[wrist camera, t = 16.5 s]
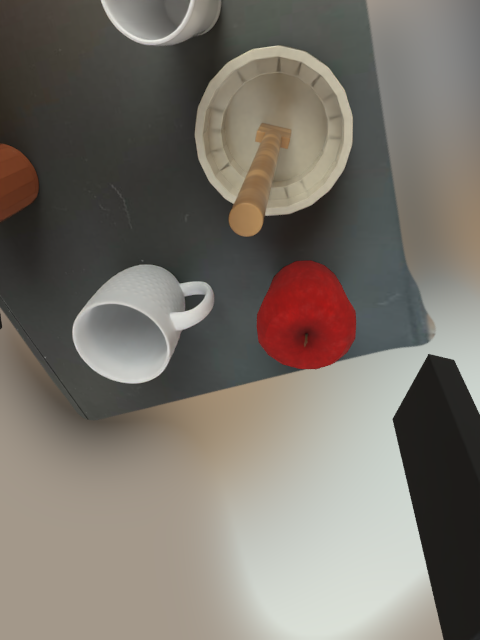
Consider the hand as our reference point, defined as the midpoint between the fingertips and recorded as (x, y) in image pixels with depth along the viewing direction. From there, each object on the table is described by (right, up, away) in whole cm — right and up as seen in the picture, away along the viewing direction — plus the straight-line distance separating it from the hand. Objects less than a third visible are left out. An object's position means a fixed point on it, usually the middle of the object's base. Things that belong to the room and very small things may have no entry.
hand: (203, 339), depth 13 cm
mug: (-9, +5, +45) cm, 46 cm away
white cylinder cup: (-3, +30, +28) cm, 41 cm away
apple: (+9, +5, +42) cm, 43 cm away
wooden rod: (+5, +20, +32) cm, 38 cm away
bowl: (+5, +21, +32) cm, 39 cm away
